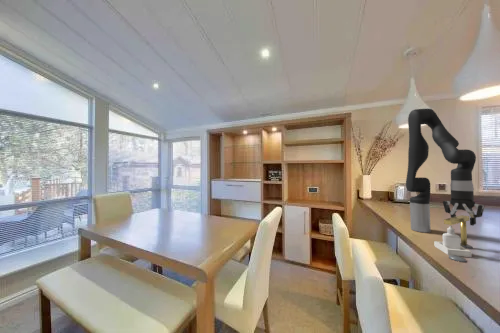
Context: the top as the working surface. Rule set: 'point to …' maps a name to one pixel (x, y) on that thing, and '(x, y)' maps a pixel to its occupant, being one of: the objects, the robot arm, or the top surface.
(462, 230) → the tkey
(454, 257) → the grey round disc
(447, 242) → the eye dropper bottle
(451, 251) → the white rectangular frame
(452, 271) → the top surface
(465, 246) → the key plate
